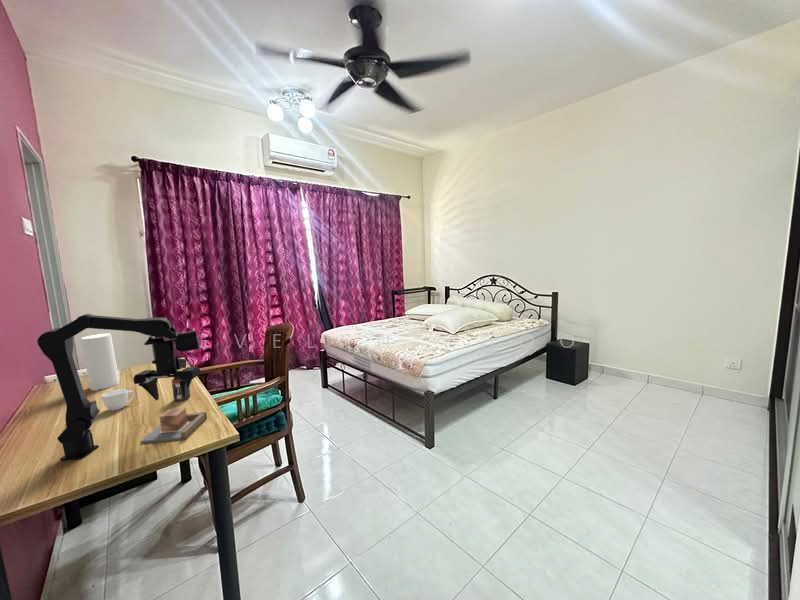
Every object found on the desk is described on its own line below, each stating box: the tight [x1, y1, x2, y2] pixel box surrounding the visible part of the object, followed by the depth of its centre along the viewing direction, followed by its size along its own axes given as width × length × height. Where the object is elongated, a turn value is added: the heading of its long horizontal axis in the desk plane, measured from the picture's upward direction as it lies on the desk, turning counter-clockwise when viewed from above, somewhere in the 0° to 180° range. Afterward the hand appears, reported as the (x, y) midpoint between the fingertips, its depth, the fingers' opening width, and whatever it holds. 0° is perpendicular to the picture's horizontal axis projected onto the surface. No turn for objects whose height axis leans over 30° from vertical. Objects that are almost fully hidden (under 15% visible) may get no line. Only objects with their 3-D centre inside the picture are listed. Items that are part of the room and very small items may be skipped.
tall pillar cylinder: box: [80, 332, 120, 391], centre depth 159 cm, size 11×11×25 cm
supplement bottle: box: [171, 377, 191, 402], centre depth 140 cm, size 6×6×11 cm
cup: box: [101, 388, 136, 412], centre depth 134 cm, size 8×10×7 cm
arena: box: [140, 411, 208, 444], centre depth 114 cm, size 14×14×2 cm
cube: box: [159, 407, 188, 432], centre depth 114 cm, size 6×6×6 cm
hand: (171, 398), depth 113 cm, fingers open, 9 cm apart
